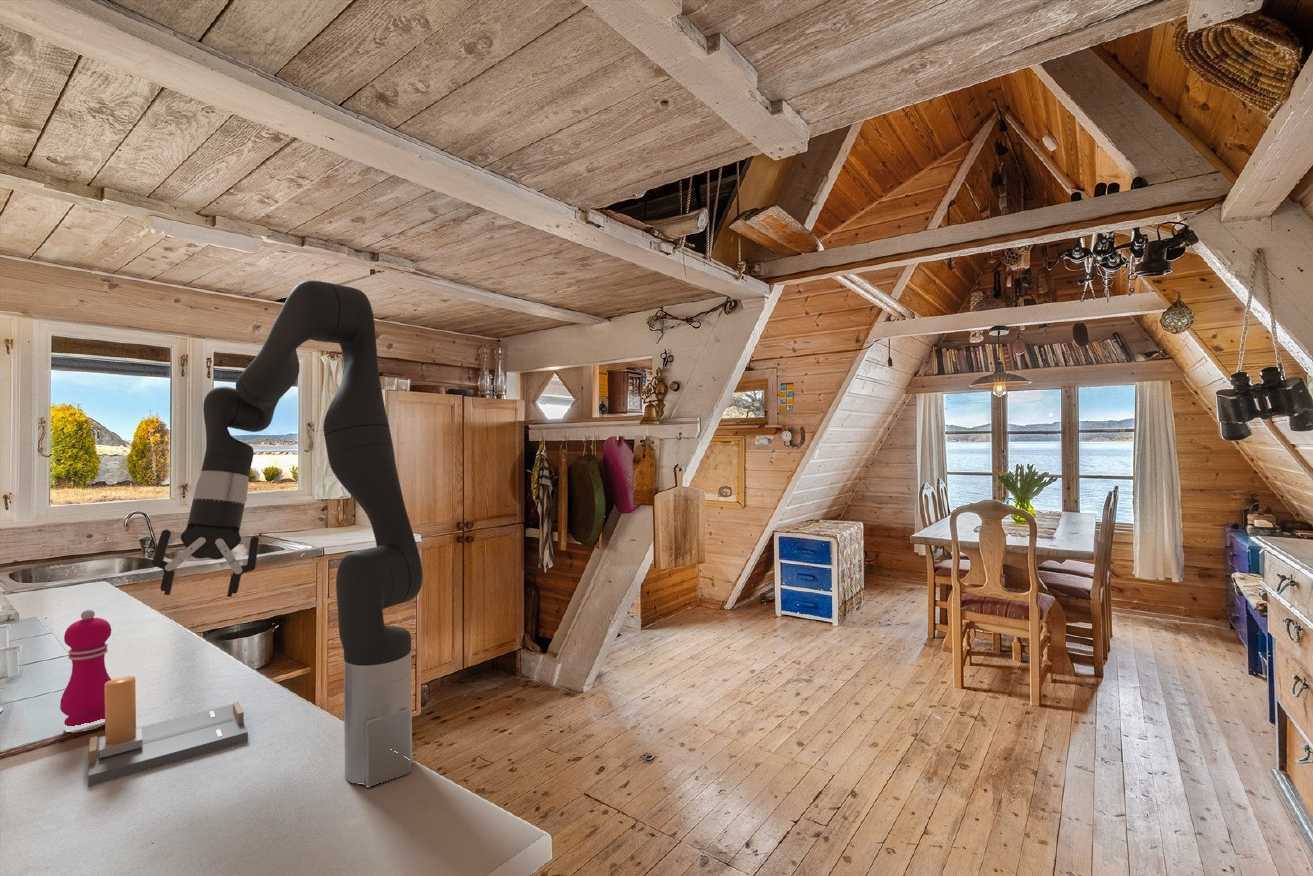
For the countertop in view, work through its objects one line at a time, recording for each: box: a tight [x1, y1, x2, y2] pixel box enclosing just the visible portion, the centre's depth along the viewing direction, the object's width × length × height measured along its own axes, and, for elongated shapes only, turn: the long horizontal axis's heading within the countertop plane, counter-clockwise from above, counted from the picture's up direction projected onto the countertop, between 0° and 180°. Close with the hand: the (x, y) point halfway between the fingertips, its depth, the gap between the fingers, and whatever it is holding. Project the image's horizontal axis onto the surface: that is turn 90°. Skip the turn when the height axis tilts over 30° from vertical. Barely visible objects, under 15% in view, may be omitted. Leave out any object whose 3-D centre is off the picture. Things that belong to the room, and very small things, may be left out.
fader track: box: [87, 701, 249, 787], centre depth 100 cm, size 14×19×3 cm
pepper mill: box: [59, 609, 112, 726], centre depth 107 cm, size 7×7×20 cm
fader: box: [99, 675, 143, 758], centre depth 96 cm, size 5×5×10 cm
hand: (199, 595), depth 104 cm, fingers open, 8 cm apart
